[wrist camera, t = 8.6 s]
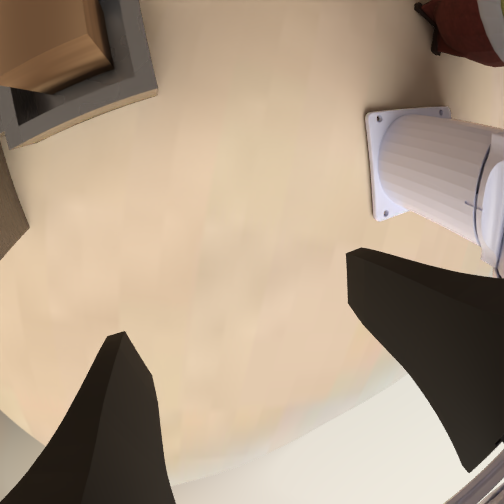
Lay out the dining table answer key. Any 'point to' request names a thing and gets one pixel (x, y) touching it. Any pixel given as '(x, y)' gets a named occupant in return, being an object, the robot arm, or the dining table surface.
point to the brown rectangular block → (52, 43)
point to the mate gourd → (467, 29)
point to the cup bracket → (74, 103)
